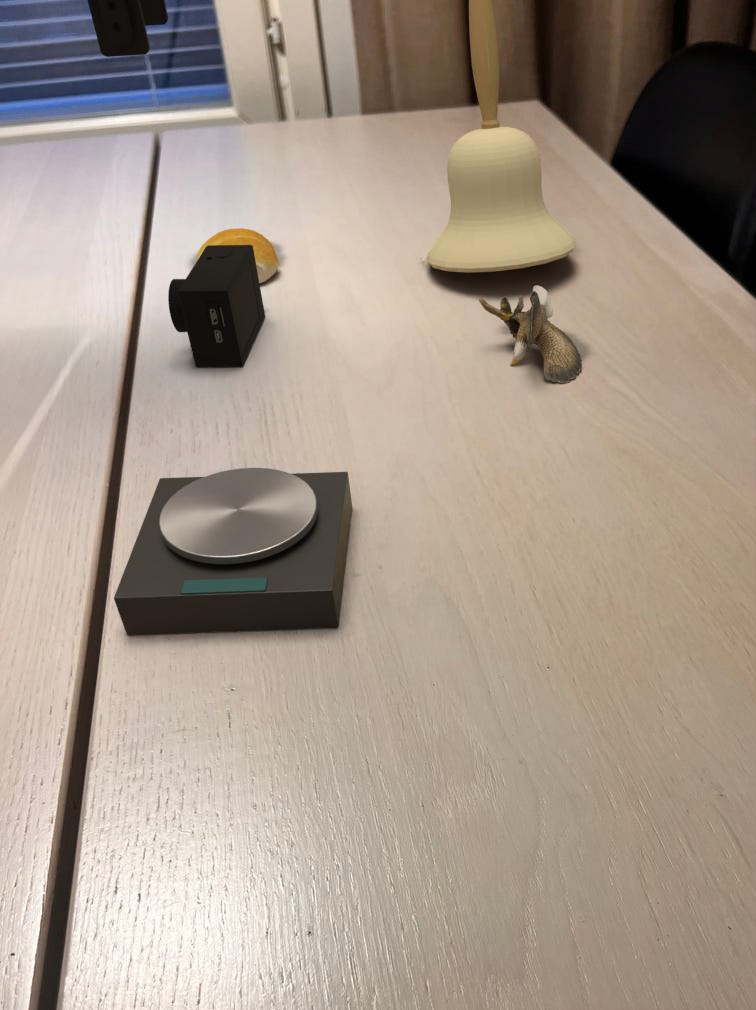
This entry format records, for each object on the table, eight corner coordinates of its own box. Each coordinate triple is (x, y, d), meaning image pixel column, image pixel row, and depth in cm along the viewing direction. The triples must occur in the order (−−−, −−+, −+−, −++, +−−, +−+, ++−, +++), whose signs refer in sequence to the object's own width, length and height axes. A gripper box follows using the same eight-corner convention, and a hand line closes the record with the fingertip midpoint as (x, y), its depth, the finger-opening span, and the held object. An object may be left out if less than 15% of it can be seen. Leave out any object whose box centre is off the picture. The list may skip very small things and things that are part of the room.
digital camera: (209, 317, 94) (193, 243, 90) (265, 317, 94) (252, 243, 89) (181, 368, 87) (162, 290, 82) (242, 367, 86) (227, 289, 82)
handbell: (461, 296, 93) (428, -20, 80) (407, 271, 105) (371, -8, 92) (604, 267, 98) (595, -37, 84) (536, 246, 110) (519, -23, 96)
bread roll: (272, 252, 106) (266, 214, 104) (284, 283, 100) (277, 243, 97) (195, 261, 105) (186, 223, 102) (201, 294, 98) (193, 254, 96)
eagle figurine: (460, 343, 86) (513, 365, 79) (491, 263, 84) (548, 278, 78) (526, 372, 91) (582, 395, 84) (557, 296, 89) (616, 313, 82)
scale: (126, 635, 60) (112, 596, 58) (169, 513, 70) (159, 476, 68) (338, 628, 60) (332, 588, 58) (352, 507, 70) (347, 469, 68)
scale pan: (147, 572, 60) (142, 559, 59) (179, 482, 67) (176, 469, 67) (310, 567, 60) (308, 553, 59) (325, 477, 68) (323, 464, 67)
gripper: (29, -286, 65) (105, 18, 76) (-46, -295, 52) (58, 71, 63) (145, -291, 65) (203, 12, 77) (98, -300, 52) (176, 64, 64)
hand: (137, 38), depth 70 cm, fingers open, 9 cm apart
